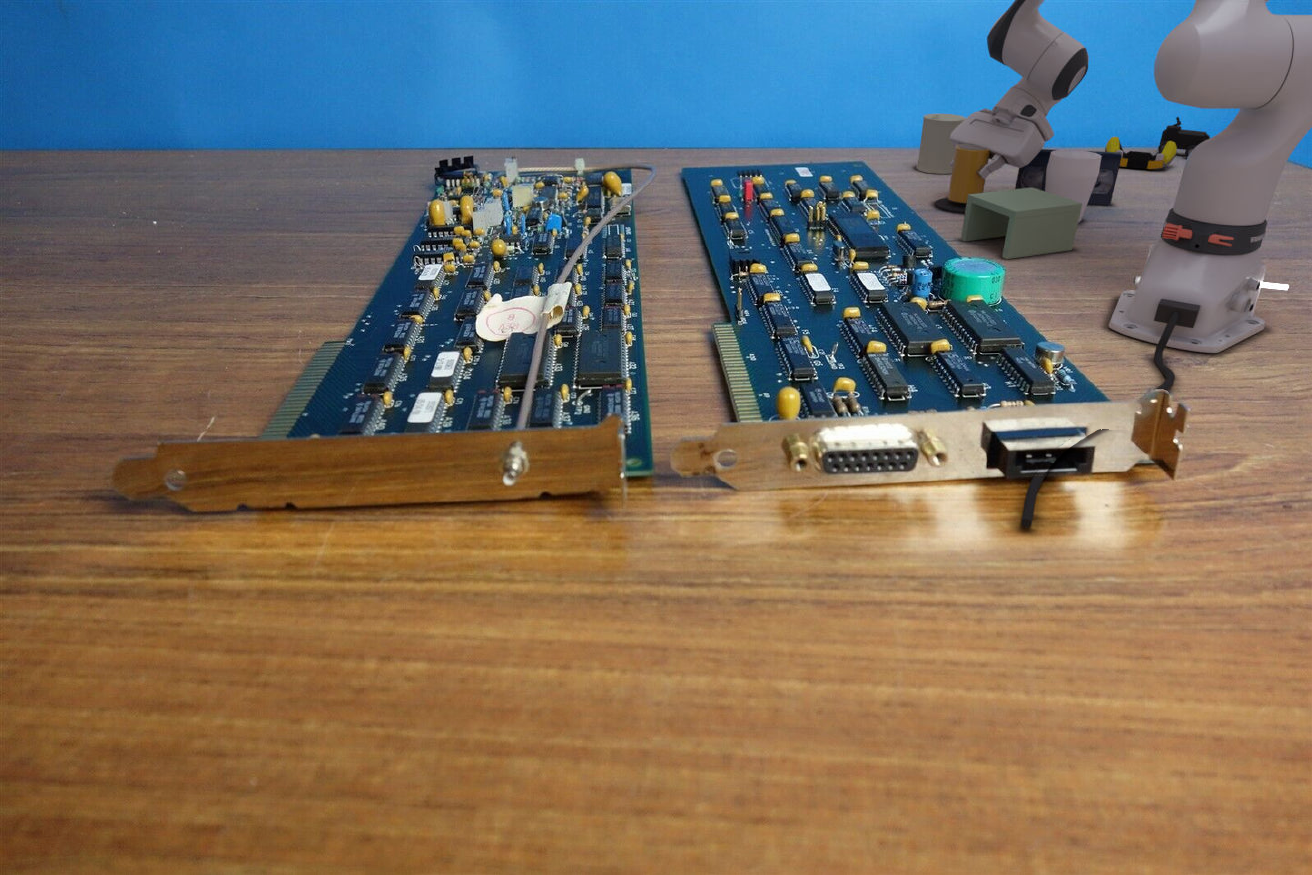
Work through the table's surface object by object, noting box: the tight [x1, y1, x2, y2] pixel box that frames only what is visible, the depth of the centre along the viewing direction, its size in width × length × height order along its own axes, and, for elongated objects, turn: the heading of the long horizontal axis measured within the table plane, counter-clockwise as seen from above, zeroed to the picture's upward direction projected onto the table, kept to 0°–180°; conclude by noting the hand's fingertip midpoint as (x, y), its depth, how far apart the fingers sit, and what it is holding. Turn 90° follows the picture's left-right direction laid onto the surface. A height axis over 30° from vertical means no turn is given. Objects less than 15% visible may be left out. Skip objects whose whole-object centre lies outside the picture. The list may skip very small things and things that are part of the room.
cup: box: [1045, 149, 1101, 223], centre depth 174 cm, size 9×9×12 cm
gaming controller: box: [1104, 136, 1178, 170], centre depth 216 cm, size 15×6×10 cm
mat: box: [934, 197, 967, 215], centre depth 184 cm, size 11×11×1 cm
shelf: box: [960, 187, 1082, 260], centre depth 160 cm, size 14×12×8 cm
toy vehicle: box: [1157, 116, 1211, 159], centre depth 225 cm, size 8×15×9 cm, turn 55°
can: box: [916, 113, 967, 175], centre depth 211 cm, size 9×9×12 cm
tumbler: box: [947, 144, 990, 203], centre depth 182 cm, size 6×6×10 cm
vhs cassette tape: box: [1014, 148, 1122, 206], centre depth 186 cm, size 18×3×10 cm, turn 76°
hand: (966, 171), depth 181 cm, fingers closed on tumbler, 6 cm apart
